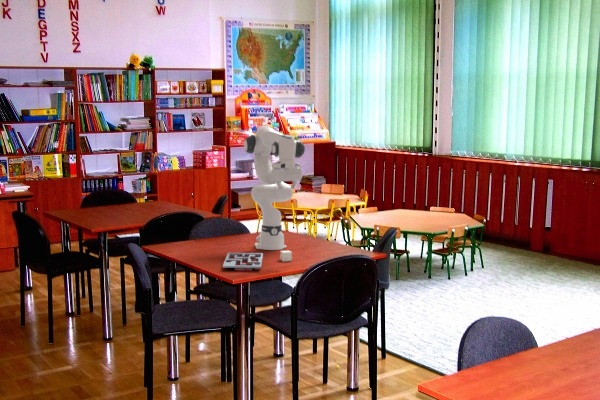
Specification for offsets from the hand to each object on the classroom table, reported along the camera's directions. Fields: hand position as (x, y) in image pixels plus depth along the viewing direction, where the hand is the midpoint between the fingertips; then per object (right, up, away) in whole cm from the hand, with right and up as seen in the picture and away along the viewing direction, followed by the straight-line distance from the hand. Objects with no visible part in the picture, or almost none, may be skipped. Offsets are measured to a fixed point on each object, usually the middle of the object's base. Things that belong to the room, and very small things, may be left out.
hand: (286, 189), depth 400 cm
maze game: (-23, -41, -11) cm, 48 cm away
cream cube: (0, -40, +1) cm, 40 cm away
